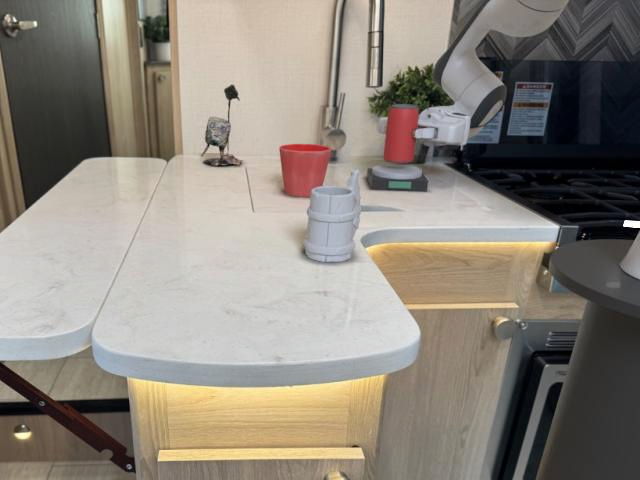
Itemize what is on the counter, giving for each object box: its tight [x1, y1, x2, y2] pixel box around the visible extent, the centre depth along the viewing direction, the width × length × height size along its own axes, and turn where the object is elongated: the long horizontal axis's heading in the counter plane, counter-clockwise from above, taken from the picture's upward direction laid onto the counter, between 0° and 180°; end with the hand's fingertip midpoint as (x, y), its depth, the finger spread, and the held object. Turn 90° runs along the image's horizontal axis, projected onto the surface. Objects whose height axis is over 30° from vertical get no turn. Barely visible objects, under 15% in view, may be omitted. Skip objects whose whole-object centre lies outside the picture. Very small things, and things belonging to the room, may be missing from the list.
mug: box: [303, 169, 363, 263], centre depth 84 cm, size 8×12×12 cm, turn 139°
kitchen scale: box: [366, 164, 429, 192], centre depth 128 cm, size 12×12×4 cm
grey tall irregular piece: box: [200, 84, 243, 166], centre depth 145 cm, size 8×11×20 cm
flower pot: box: [279, 143, 332, 198], centre depth 119 cm, size 11×11×10 cm
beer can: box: [383, 103, 420, 164], centre depth 124 cm, size 7×7×12 cm
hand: (399, 131), depth 123 cm, fingers closed on beer can, 6 cm apart
